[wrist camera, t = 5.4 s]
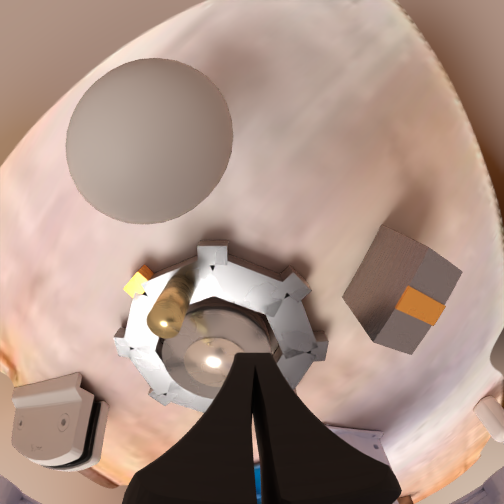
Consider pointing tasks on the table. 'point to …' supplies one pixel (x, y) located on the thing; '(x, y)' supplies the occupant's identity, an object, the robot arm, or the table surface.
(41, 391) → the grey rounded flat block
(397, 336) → the marked link
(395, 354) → the table surface
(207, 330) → the hub
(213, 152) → the lightbulb
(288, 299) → the sprocket
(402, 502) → the open wooden box
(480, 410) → the eye dropper bottle
